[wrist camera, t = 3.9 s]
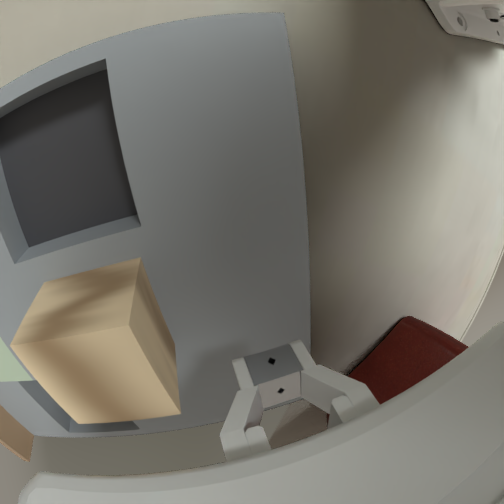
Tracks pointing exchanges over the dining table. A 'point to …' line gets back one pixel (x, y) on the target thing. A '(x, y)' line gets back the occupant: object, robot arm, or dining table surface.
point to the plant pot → (405, 358)
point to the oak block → (101, 346)
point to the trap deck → (159, 203)
